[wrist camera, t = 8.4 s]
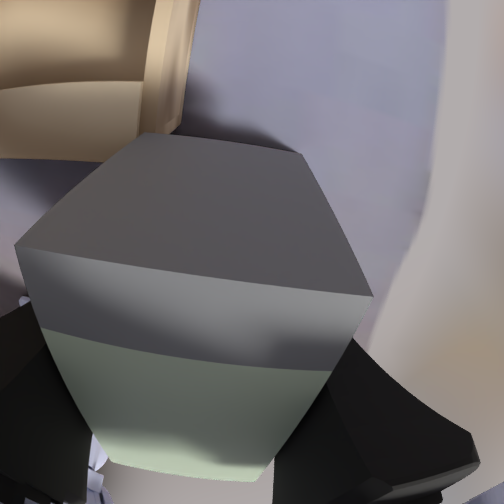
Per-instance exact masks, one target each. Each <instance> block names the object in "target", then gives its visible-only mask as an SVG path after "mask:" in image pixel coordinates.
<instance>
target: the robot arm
mask: <svg viewBox="0 0 504 504" xmlns="http://www.w3.org/2000/svg"><path fill="white" fill-rule="evenodd" d="M19 304H20V307H19V308H17V309H16V310H14V311H12V312H10V313H8V314H7V315H5V316H3V317H1V318H0V504H114V502H113V501H112V498H111V496H110V493H109V492H108V490H107V489H106V488H104V487H103V486H102V482H103V477H104V476H103V475H101V474H99V473H97V472H95V471H96V470H98V469H99V468H100V467H101V466H102V465H103V464H104V463H105V462H106V460H107V458H108V456H107V454H106V453H105V451H104V450H103V448H102V447H101V445H100V443H99V442H98V440H97V439H96V437H95V436H94V434H93V432H92V431H91V429H90V427H89V426H88V424H87V422H86V421H85V419H84V417H83V416H82V414H81V412H80V410H79V409H78V407H77V405H76V403H75V401H74V399H73V398H72V396H71V394H70V392H69V390H68V388H67V386H66V384H65V382H64V380H63V378H62V376H61V374H60V372H59V370H58V368H57V365H56V363H55V361H54V359H53V357H52V354H51V352H50V350H49V348H48V345H47V343H46V340H45V338H44V336H43V333H42V331H41V328H40V325H39V323H38V320H37V318H36V315H35V312H34V309H33V307H32V304H31V301H30V298H29V297H26V296H22V297H21V298H20V299H19ZM274 461H275V462H274V483H273V502H272V504H439V503H441V502H442V500H443V498H442V494H441V491H442V490H444V489H445V488H447V487H449V486H451V485H453V484H455V483H456V482H458V481H460V480H462V479H463V478H465V477H466V476H468V475H470V474H471V473H472V472H474V471H475V470H476V469H477V468H478V467H479V464H480V459H479V456H478V453H477V450H476V447H475V445H474V441H473V438H472V436H471V433H469V432H468V431H466V430H465V429H463V428H461V427H459V426H458V425H456V424H454V423H453V422H451V421H449V420H448V419H446V418H444V417H443V416H441V415H440V414H438V413H437V412H435V411H434V410H432V409H431V408H429V407H428V406H427V405H425V404H424V403H422V402H421V401H420V400H418V399H417V398H416V397H415V396H413V395H412V394H411V393H409V392H408V391H407V390H406V389H405V388H403V387H402V386H401V385H400V384H399V383H398V382H396V381H395V380H394V379H393V378H392V377H390V376H389V375H388V374H387V373H386V372H385V371H384V370H383V369H382V368H381V367H380V366H379V365H378V364H377V363H376V362H375V361H374V360H373V359H372V358H371V357H370V356H369V355H368V354H367V353H366V352H365V351H364V350H363V349H362V348H361V347H360V345H359V344H358V343H357V342H356V341H355V340H354V339H353V337H352V339H351V341H350V342H349V344H348V346H347V348H346V349H345V351H344V353H343V354H342V356H341V358H340V360H339V361H338V363H337V365H336V366H335V368H334V370H333V371H332V373H331V375H330V376H329V378H328V379H327V381H326V383H325V384H324V386H323V387H322V389H321V391H320V392H319V394H318V395H317V397H316V398H315V400H314V401H313V403H312V404H311V406H310V407H309V409H308V410H307V412H306V413H305V415H304V416H303V418H302V419H301V421H300V422H299V424H298V425H297V427H296V428H295V429H294V431H293V432H292V434H291V435H290V436H289V438H288V439H287V441H286V442H285V443H284V445H283V446H282V447H281V449H280V450H279V451H278V453H277V454H276V455H275V458H274ZM463 504H504V482H502V483H500V484H499V485H497V486H495V487H493V488H491V489H489V490H487V491H486V492H483V493H481V494H480V495H478V496H476V497H474V498H472V499H470V500H469V501H467V502H465V503H463Z"/></svg>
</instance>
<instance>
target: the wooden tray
mask: <svg viewBox="0 0 504 504" xmlns="http://www.w3.org/2000/svg"><path fill="white" fill-rule="evenodd" d="M199 5H200V0H0V158H12V159H50V160H71V161H88V162H102V163H104V162H105V161H107V160H108V159H109V158H110V157H112V156H113V155H114V154H116V153H117V152H118V151H120V150H121V149H122V148H124V147H125V146H126V145H128V144H129V143H130V142H132V141H133V140H134V139H136V138H137V137H139V136H140V135H141V134H143V133H144V132H147V133H159V134H170V133H171V132H172V131H173V130H175V129H176V128H177V127H178V126H179V125H180V124H181V119H182V110H183V102H184V95H185V87H186V80H187V73H188V67H189V60H190V54H191V48H192V42H193V37H194V31H195V25H196V20H197V15H198V10H199Z"/></svg>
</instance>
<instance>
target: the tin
mask: <svg viewBox="0 0 504 504" xmlns="http://www.w3.org/2000/svg"><path fill="white" fill-rule="evenodd" d="M14 246H15V250H16V254H17V258H18V262H19V265H20V269H21V272H22V276H23V279H24V282H25V286H26V289H27V292H28V295H29V298H30V301H31V304H32V307H33V309H34V312H35V315H36V318H37V320H38V323H39V325H40V328H41V331H42V333H43V336H44V338H45V340H46V343H47V345H48V348H49V350H50V352H51V354H52V357H53V359H54V361H55V363H56V365H57V368H58V370H59V372H60V374H61V376H62V378H63V380H64V382H65V384H66V386H67V388H68V390H69V392H70V394H71V396H72V398H73V399H74V401H75V403H76V405H77V407H78V409H79V410H80V412H81V414H82V416H83V417H84V419H85V421H86V422H87V424H88V426H89V427H90V429H91V431H92V432H93V434H94V436H95V437H96V439H97V440H98V442H99V443H100V445H101V447H102V448H103V450H104V451H105V453H106V454H107V456H108V457H109V458H110V460H111V461H112V462H114V463H119V464H122V465H126V466H131V467H135V468H140V469H145V470H150V471H155V472H161V473H167V474H173V475H180V476H187V477H195V478H204V479H214V480H215V479H216V480H227V481H244V482H255V481H256V480H257V479H258V477H259V476H260V475H261V474H262V472H263V471H264V470H265V468H266V467H267V466H268V465H269V463H270V462H271V461H272V459H273V458H274V457H275V455H276V454H277V453H278V451H279V450H280V449H281V447H282V446H283V445H284V443H285V442H286V441H287V439H288V438H289V436H290V435H291V434H292V432H293V431H294V429H295V428H296V427H297V425H298V424H299V422H300V421H301V419H302V418H303V416H304V415H305V413H306V412H307V410H308V409H309V407H310V406H311V404H312V403H313V401H314V400H315V398H316V397H317V395H318V394H319V392H320V391H321V389H322V387H323V386H324V384H325V383H326V381H327V379H328V378H329V376H330V375H331V373H332V371H333V370H334V368H335V366H336V365H337V363H338V361H339V360H340V358H341V356H342V354H343V353H344V351H345V349H346V348H347V346H348V344H349V342H350V341H351V339H352V337H353V335H354V333H355V332H356V330H357V328H358V326H359V324H360V322H361V320H362V319H363V317H364V315H365V313H366V311H367V309H368V307H369V305H370V303H371V301H372V299H373V297H374V296H373V294H372V292H371V289H370V287H369V285H368V283H367V281H366V278H365V276H364V274H363V272H362V270H361V268H360V265H359V263H358V261H357V259H356V257H355V255H354V253H353V251H352V249H351V246H350V244H349V242H348V240H347V238H346V236H345V234H344V232H343V230H342V228H341V226H340V224H339V222H338V220H337V218H336V216H335V214H334V212H333V210H332V209H331V207H330V205H329V203H328V201H327V199H326V197H325V195H324V193H323V191H322V190H321V188H320V186H319V184H318V182H317V180H316V179H315V177H314V175H313V173H312V171H311V169H310V168H309V166H308V164H307V162H306V161H305V159H304V157H303V155H302V154H299V153H294V152H289V151H283V150H278V149H272V148H267V147H261V146H255V145H249V144H242V143H236V142H229V141H222V140H214V139H206V138H198V137H189V136H180V135H170V134H159V133H147V132H144V133H143V134H141V135H140V136H139V137H137V138H136V139H134V140H133V141H132V142H130V143H129V144H128V145H126V146H125V147H124V148H122V149H121V150H120V151H118V152H117V153H116V154H114V155H113V156H112V157H110V158H109V159H108V160H107V161H105V162H104V163H103V164H102V165H100V166H99V167H98V168H97V169H95V170H94V171H93V172H92V173H90V174H89V175H88V176H87V177H86V178H84V179H83V180H82V181H81V182H80V183H79V184H77V185H76V186H75V187H74V188H73V189H72V190H71V191H69V192H68V193H67V194H66V195H65V196H64V197H63V198H62V199H60V200H59V201H58V202H57V203H56V204H55V205H54V206H53V207H52V208H51V209H50V210H49V211H48V212H46V213H45V214H44V215H43V216H42V217H41V218H40V219H39V220H38V221H37V222H36V223H35V224H34V225H33V226H32V227H31V228H30V229H29V230H28V231H27V232H26V233H25V234H24V235H23V236H22V237H21V238H20V239H19V241H18V242H17V243H16V244H15V245H14Z"/></svg>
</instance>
